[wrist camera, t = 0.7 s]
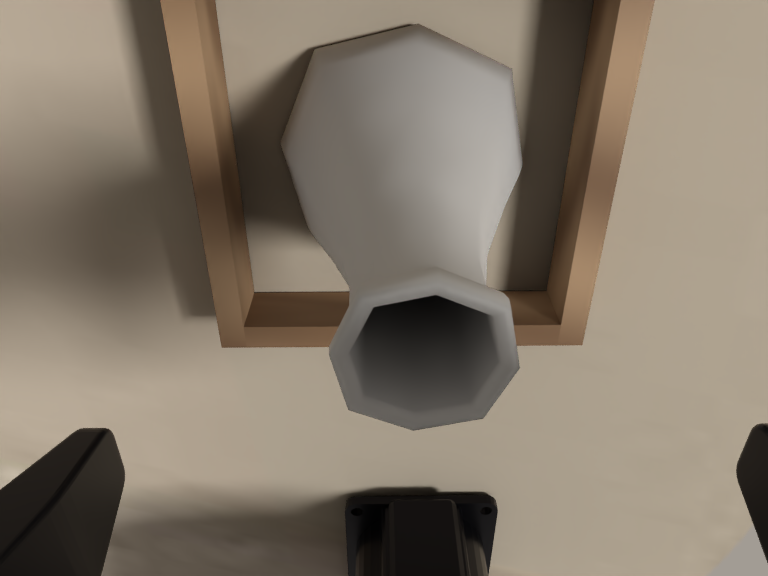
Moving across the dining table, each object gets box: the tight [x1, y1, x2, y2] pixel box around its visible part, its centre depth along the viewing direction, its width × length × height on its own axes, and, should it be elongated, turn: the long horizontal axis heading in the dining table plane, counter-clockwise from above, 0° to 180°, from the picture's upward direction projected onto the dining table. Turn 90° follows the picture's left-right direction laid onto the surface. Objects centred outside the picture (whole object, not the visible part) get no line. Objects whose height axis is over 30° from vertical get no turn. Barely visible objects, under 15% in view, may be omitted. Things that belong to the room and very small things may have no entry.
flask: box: [280, 24, 523, 431], centre depth 15 cm, size 7×7×10 cm
